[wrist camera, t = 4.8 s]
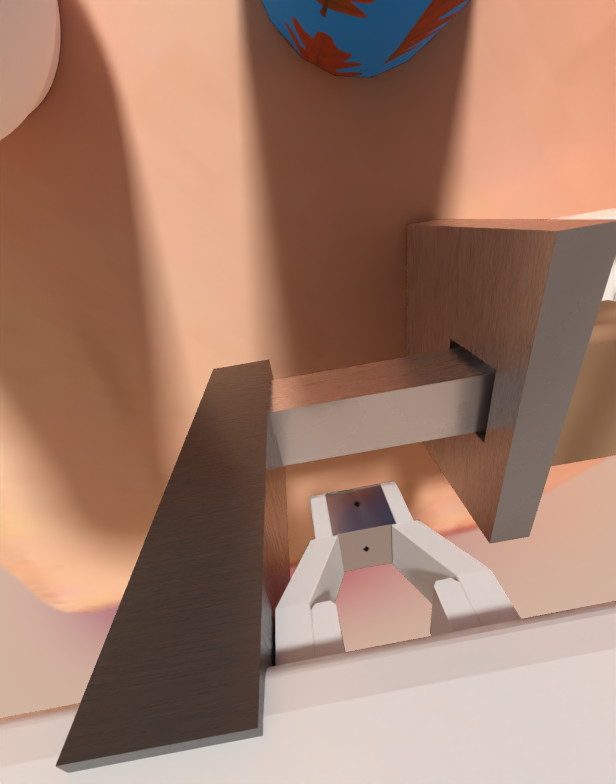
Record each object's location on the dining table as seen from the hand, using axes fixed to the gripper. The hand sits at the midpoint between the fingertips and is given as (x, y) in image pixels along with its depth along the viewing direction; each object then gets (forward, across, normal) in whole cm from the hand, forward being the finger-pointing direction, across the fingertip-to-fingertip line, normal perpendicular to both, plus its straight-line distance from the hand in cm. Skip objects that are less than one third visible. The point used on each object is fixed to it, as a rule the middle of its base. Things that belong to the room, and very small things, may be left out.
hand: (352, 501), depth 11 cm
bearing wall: (+13, -8, 0) cm, 15 cm away
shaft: (+8, -4, 0) cm, 9 cm away
